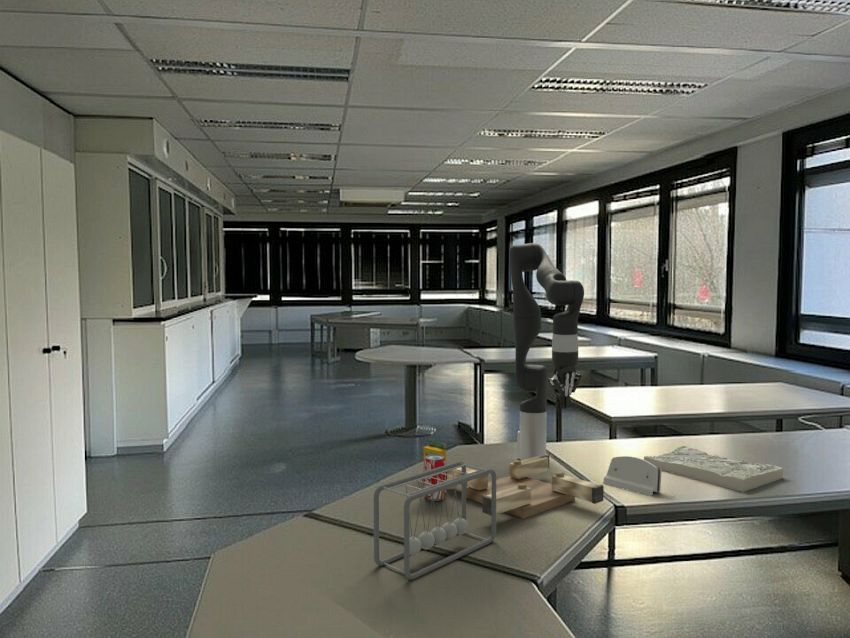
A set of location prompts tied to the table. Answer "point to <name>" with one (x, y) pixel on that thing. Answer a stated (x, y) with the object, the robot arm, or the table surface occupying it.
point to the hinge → (634, 475)
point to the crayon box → (435, 449)
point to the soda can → (430, 464)
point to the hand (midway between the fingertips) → (564, 408)
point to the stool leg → (577, 488)
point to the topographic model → (716, 469)
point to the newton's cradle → (437, 533)
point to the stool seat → (515, 489)
